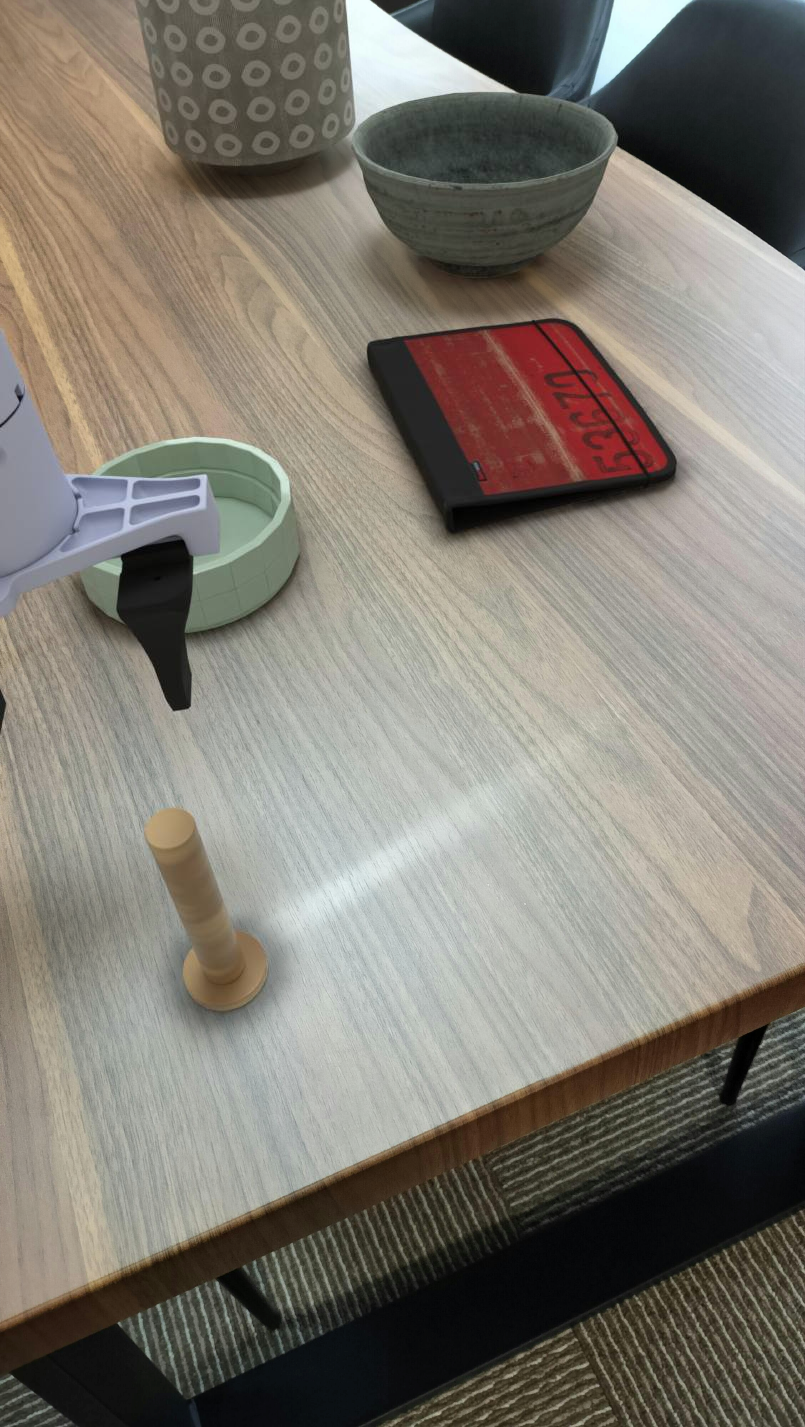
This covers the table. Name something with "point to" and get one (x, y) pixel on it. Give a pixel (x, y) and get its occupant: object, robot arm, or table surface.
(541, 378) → the notebook
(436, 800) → the table surface
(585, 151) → the bowl
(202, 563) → the mixing bowl
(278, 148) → the planter
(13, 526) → the robot arm
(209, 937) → the stick
